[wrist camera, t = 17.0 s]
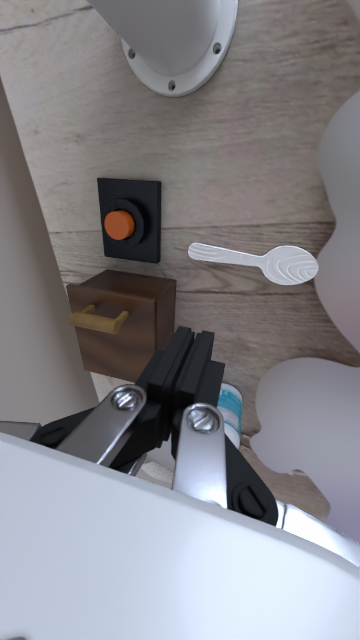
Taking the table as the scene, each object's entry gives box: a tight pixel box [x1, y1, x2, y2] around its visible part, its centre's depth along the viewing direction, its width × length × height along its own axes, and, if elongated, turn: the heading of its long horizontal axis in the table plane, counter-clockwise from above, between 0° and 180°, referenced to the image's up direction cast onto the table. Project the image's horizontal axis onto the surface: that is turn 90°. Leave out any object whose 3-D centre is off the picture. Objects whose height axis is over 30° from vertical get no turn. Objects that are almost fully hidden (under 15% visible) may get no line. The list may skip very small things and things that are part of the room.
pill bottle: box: [217, 383, 242, 449], centre depth 43 cm, size 8×7×14 cm
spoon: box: [188, 243, 319, 285], centre depth 35 cm, size 5×18×1 cm, turn 85°
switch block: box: [97, 178, 161, 263], centre depth 36 cm, size 11×9×4 cm
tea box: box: [79, 270, 176, 350], centre depth 41 cm, size 15×13×9 cm
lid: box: [66, 284, 156, 383], centre depth 35 cm, size 15×13×5 cm
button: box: [105, 210, 135, 240], centre depth 34 cm, size 4×4×2 cm
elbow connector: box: [143, 434, 175, 473], centre depth 55 cm, size 18×11×20 cm
